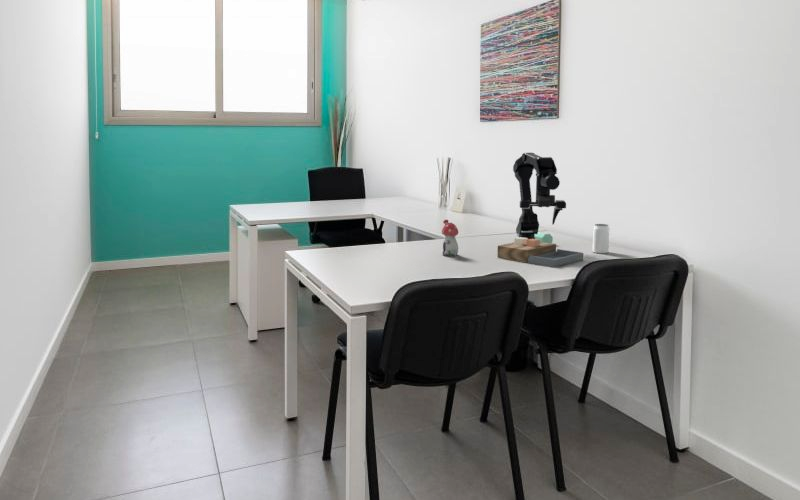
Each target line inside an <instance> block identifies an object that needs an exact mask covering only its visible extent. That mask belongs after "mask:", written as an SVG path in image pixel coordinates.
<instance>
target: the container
mask: <svg viewBox="0 0 800 500" xmlns="http://www.w3.org/2000/svg"><path fill="white" fill-rule="evenodd" d="M521 232H524V231H521ZM516 236H517V238H518V237H519V234H517V233H516ZM534 237H535V239H538V240H540V242H545V243H552V244H553V242H554V241H553V236H552V234H551V233H543V232H539V231H538V234H535V236H534Z"/></svg>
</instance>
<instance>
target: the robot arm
mask: <svg viewBox="0 0 800 500" xmlns="http://www.w3.org/2000/svg"><path fill="white" fill-rule="evenodd" d="M512 167H513V169H512V171H513V173H514V178H515V179H516V180H517V181H518V183H519V184H518V186H519V194H520V201H519V208H520V209H521V214H520V216H519V219H518V223H517V225H516V228H515V233H516V235H517V234H519V237H523V238H528V239H535V237H534V236H535V234H538V232H539V228H540V223H539V219H538V214H537V213H536V212H534V210H533V207H538V208H544V207H545V208H550V207H553V213H552V221H551V223H552V225H554V224H555V222H556V220H557V216H558V215H559V213H560V212H561V211H563V209H567V202H566V201H565V200H564V199H562V200H561V199H556V195H554V194H551V191H554V190H556V189H558V188H559V186H560V183H561V181H560V178H559V177H558V176H556V175H557V174H558V173H557V172H558V169H557V166H556V163H555V160H554V159H553V158H552V157H551V156H549V157H548V156H547V157H546V156H545V157H542V156H540V155H538V154H535V153H534V152H523V153H522V154H521V156H520V157H519V158H517V159H516V160H515V161H514V164H513V166H512ZM534 170H535V176H536V179H535V180H536V181H535V182H536V185H535V187H536V188H535V201H533V200H532V199H533V198H532V189H531V182H530V181H531V178H532V175H533V173H534V172H533V171H534ZM521 231H524V232H521Z"/></svg>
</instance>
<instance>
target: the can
mask: <svg viewBox="0 0 800 500" xmlns="http://www.w3.org/2000/svg"><path fill="white" fill-rule="evenodd" d="M592 233H593V234H592V235H593V236H592V252H593V253H594V254H601V255H602V254H608V253H609V247H610V246H609V244H610V227H609V224H608V223H607V224H605V223H595V224H594V226H593V231H592Z"/></svg>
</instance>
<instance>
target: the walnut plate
mask: <svg viewBox="0 0 800 500" xmlns="http://www.w3.org/2000/svg"><path fill="white" fill-rule="evenodd" d="M514 243H515V241H514V242H511V243H505V244H504V243H503V244H499V245H497V258H499V259H504V260H510V261H515V262H522V263H528V258H529V255H531V256H538V255H542V254H546V253H551V252H555V251H557V244H556V243H553V242H552V243H545V242H540V246H536V247H531V246H526V245H518V244H514Z"/></svg>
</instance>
